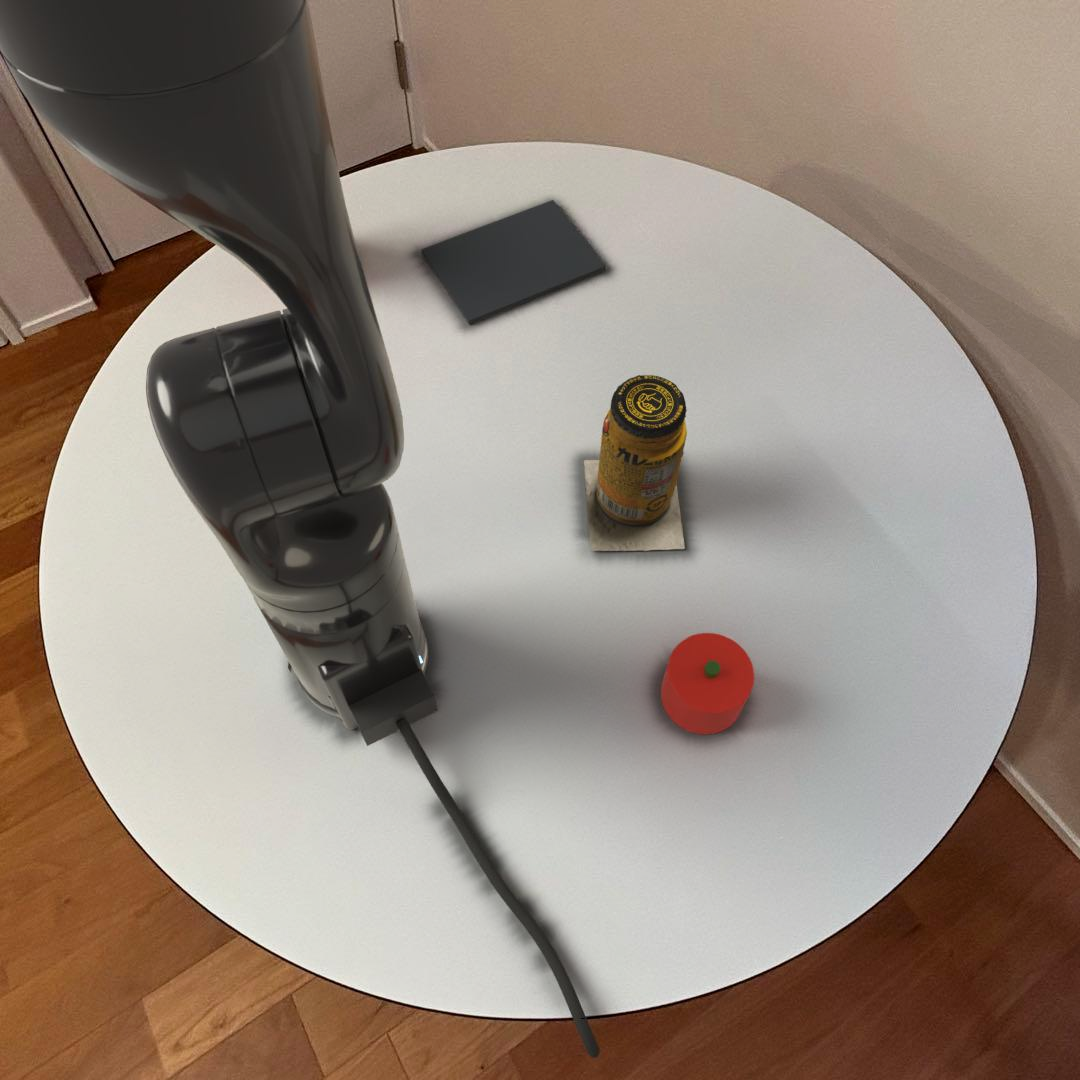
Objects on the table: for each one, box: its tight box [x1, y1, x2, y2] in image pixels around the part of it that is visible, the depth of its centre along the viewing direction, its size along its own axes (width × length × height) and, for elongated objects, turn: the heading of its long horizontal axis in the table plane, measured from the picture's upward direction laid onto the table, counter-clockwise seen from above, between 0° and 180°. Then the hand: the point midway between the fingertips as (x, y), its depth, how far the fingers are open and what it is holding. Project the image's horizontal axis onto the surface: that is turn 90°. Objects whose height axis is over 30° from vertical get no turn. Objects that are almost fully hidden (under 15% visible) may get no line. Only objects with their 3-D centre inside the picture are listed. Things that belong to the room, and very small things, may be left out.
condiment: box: [583, 374, 688, 552], centre depth 72 cm, size 7×8×12 cm
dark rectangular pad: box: [420, 199, 606, 326], centre depth 90 cm, size 10×14×1 cm
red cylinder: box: [660, 632, 755, 736], centre depth 67 cm, size 6×6×5 cm
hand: (208, 120), depth 63 cm, fingers open, 8 cm apart
